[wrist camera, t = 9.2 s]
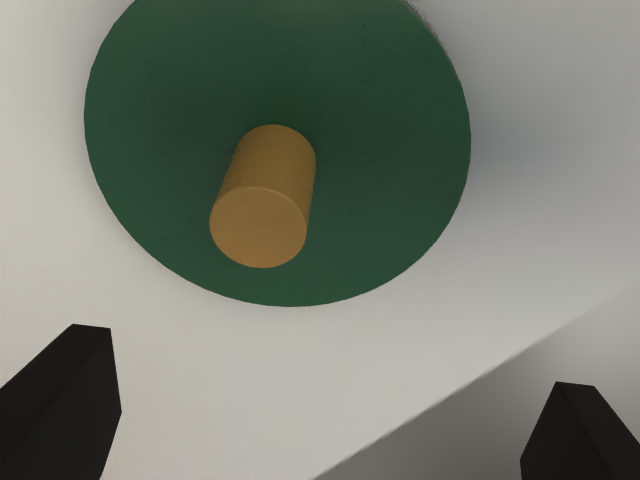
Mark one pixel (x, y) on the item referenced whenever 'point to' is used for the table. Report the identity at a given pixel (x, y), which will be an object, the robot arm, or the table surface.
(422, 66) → the tin lid
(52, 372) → the robot arm
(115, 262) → the table surface
